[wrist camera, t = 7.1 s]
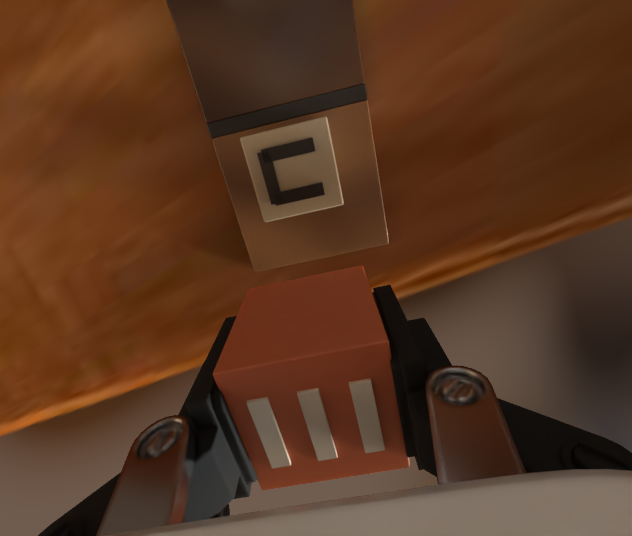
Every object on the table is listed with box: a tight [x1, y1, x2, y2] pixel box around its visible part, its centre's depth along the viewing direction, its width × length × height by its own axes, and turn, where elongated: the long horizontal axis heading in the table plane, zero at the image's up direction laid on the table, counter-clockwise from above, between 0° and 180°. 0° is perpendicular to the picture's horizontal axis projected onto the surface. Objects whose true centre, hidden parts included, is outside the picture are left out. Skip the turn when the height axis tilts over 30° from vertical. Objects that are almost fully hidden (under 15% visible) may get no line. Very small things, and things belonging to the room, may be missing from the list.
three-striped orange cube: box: [213, 265, 410, 490], centre depth 10 cm, size 4×4×4 cm
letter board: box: [166, 0, 389, 272], centre depth 19 cm, size 20×9×1 cm, turn 13°
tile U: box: [240, 117, 344, 222], centre depth 18 cm, size 4×4×4 cm
